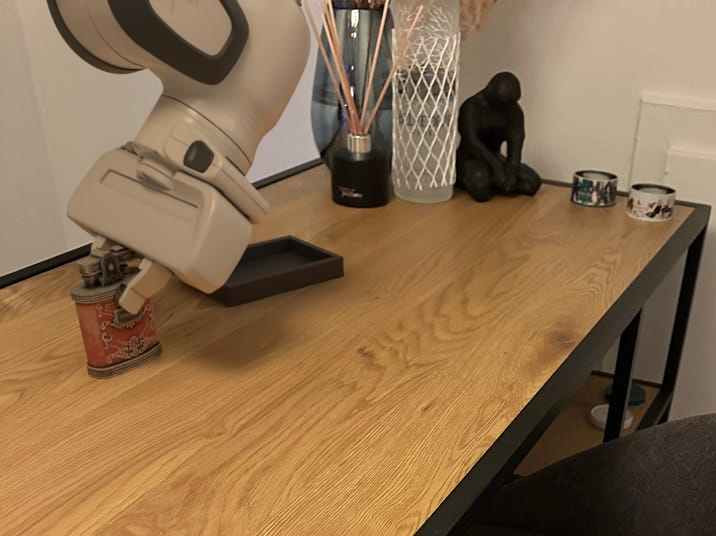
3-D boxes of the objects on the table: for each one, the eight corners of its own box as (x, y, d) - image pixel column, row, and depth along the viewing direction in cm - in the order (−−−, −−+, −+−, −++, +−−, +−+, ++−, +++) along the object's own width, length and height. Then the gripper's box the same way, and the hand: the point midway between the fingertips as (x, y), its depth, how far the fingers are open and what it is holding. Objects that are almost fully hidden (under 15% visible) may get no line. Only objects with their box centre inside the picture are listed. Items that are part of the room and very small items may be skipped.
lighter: (107, 381, 83) (83, 266, 77) (79, 372, 84) (53, 258, 78) (170, 351, 89) (153, 242, 82) (143, 343, 90) (124, 234, 83)
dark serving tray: (177, 280, 103) (175, 261, 101) (291, 252, 112) (290, 234, 110) (230, 307, 98) (228, 286, 96) (344, 275, 107) (343, 257, 106)
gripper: (96, 113, 84) (18, 246, 85) (233, 164, 74) (144, 315, 74) (149, 160, 89) (75, 285, 90) (282, 214, 79) (199, 354, 80)
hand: (107, 299), depth 82 cm, fingers closed on lighter, 4 cm apart
